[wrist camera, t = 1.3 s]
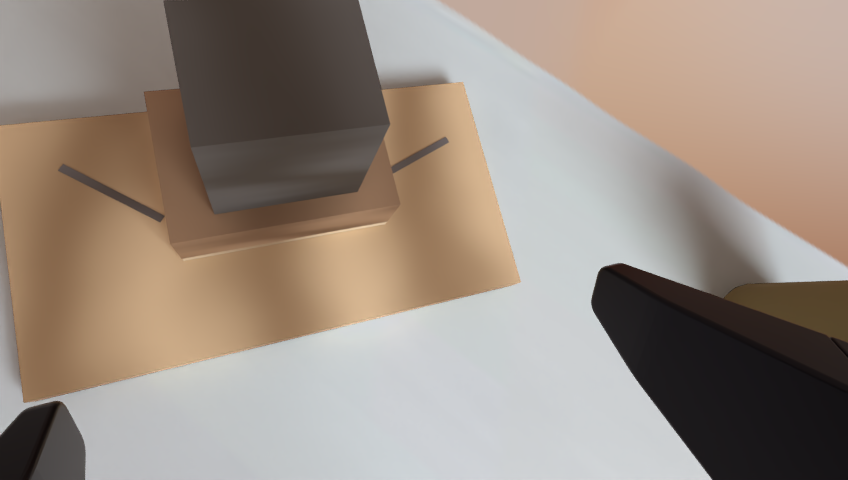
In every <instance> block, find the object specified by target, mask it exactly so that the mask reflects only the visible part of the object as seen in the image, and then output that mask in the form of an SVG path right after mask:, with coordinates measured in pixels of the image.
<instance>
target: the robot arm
mask: <svg viewBox="0 0 848 480" xmlns="http://www.w3.org/2000/svg"><path fill="white" fill-rule="evenodd" d="M591 304H592V309H593V311H594V313H595V315H596V317H597V318H598V320H599V321H600V323H601V325H602V326H603V328H604V329H605V331H606V333H607V334H608V336H609V338H610V339H611V341H612V342H613V344H614V346H615V347H616V349H617V350H618V352H619V354H620V355H621V357H622V358H623V360H624V362H625V363H626V365H627V366H628V368H629V370H630V371H631V373H632V374H633V376H634V377H635V378H636V380H637V381H638V383H639V384H640V385H641V387H642V388H643V389H644V391H645V392H646V393H647V395H648V396H649V397H650V399H651V400H652V401H653V402H654V404H655V405H656V406H657V408H658V409H659V410H660V412H661V413H662V414H663V416H664V417H665V418H666V420H667V421H668V422H669V424H670V425H671V426H672V427H673V429H674V430H675V431H676V433H677V434H678V435H679V437H680V438H681V439H682V441H683V442H684V443H685V445H686V446H687V447H688V448H689V450H690V451H691V452H692V454H693V455H694V456H695V458H696V459H697V460H698V462H699V463H700V464H701V466H702V467H703V468H704V469H705V471H706V472H707V473H708V475H709V476H710V477H711V479H712V480H848V342H846V341H843V340H840V339H837V338H834V337H828V336H827V335H826V334H823V333H820V332H817V331H814V330H811V329H808V328H806V327H803V326H800V325H797V324H794V323H791V322H788V321H786V320H783V319H780V318H777V317H774V316H771V315H768V314H766V313H763V312H760V311H757V310H754V309H751V308H748V307H746V306H743V305H740V304H737V303H734V302H731V301H729V300H726V299H723V298H720V297H717V296H714V295H711V294H709V293H706V292H703V291H700V290H697V289H694V288H691V287H689V286H686V285H683V284H680V283H677V282H674V281H672V280H669V279H666V278H663V277H660V276H657V275H654V274H652V273H649V272H646V271H643V270H640V269H637V268H634V267H632V266H629V265H626V264H623V263H617V264H613V265H608V266H605V267H603V268H601V269H600V271H599V272H598V275H597V279H596V283H595V287H594V291H593V295H592V300H591ZM85 456H86V455H85V445H84V441H83V438H82V435H81V434H80V432H79V430H78V428H77V426H76V424H75V422H74V420H73V418H72V417H71V415H70V413H69V411H68V409H67V407H66V406H65V405H64V404H63V403H62V402H60V401H53V402H49V403H45V404H41V405H37V406H33V407H29V408H27V409H25V410H24V411H22V412H21V413H20V414H19V415H18V416H17V417H16V419H15V420H14V421H13V422H12V423H11V424H10V425H9V426H8V427H7V429H6V430H5V431H4V432H3V433H2V434H1V435H0V480H85Z"/></svg>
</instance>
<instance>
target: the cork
mask: <svg viewBox="0 0 848 480" xmlns="http://www.w3.org/2000/svg"><path fill="white" fill-rule="evenodd" d="M724 299H726V300H729V301H731V302H734V303H737V304H740V305H743V306H746V307H748V308H751V309H754V310H757V311H760V312H763V313H766V314H768V315H771V316H774V317H777V318H780V319H783V320H786V321H788V322H791V323H794V324H797V325H800V326H803V327H806V328H808V329H811V330H814V331H817V332H820V333H823V334H826V335H827V336H828V337H834V338H837V339H840V340H843V341H846V342H848V280H845V281H816V282H787V283H758V284H746V285H742V286H739V287H736V288H734V289H733V290H732V291H731V292H730V293H728V294H727V295H726V296H725V297H724Z"/></svg>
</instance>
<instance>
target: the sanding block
mask: <svg viewBox="0 0 848 480" xmlns="http://www.w3.org/2000/svg"><path fill="white" fill-rule="evenodd" d="M163 1H164V6H165V11H166V17H167V22H168V28H169V33H170V38H171V44H172V49H173V55H174V60H175V65H176V71H177V76H178V82H179V87H180V89H171V90H159V91H147V92H144V96H145V101H146V107H147V113H148V119H149V125H150V130H151V136H152V142H153V148H154V154H155V160H156V165H157V171H158V177H159V183H160V189H161V194H162V200H163V206H164V212H165V218H166V223H167V229H168V235H169V241H170V245H171V246H172V247H173V248H174V250H175V251H176V252H177V253H178V255H179V256H180V257H181V259H182V260H183V261H186V260H192V259H197V258H203V257H208V256H214V255H219V254H225V253H230V252H236V251H241V250H247V249H252V248H258V247H263V246H269V245H274V244H280V243H285V242H291V241H296V240H301V239H307V238H312V237H318V236H323V235H329V234H334V233H340V232H345V231H351V230H356V229H362V228H367V227H373V226H378V225H384V224H386V223H387V221H388V220H389V219H390V217H391V216H392V215H393V214H394V212H395V211H396V210H397V209H398V207H399V206H400V205H401V204H400V200H399V196H398V192H397V188H396V184H395V180H394V176H393V172H392V168H391V165H390V161H389V157H388V153H387V149H386V145H385V141H384V137H385V134H386V132H387V130H388V128H389V126H390V121H389V117H388V113H387V109H386V105H385V101H384V97H383V94H382V90H381V86H380V82H379V78H378V74H377V70H376V67H375V63H374V59H373V55H372V51H371V47H370V43H369V40H368V36H367V32H366V28H365V24H364V20H363V16H362V13H361V9H360V5H359V1H358V0H163Z"/></svg>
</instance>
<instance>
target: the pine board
mask: <svg viewBox="0 0 848 480" xmlns="http://www.w3.org/2000/svg"><path fill="white" fill-rule="evenodd" d="M382 94H383V97H384V101H385V105H386V109H387V113H388V117H389V121H390V126H389V128H388V130H387V132H386V134H385V137H384V141H385V145H386V149H387V153H388V157H389V161H390V165H391V168H392V172H393V176H394V180H395V184H396V188H397V192H398V196H399V200H400V204H401V205H400V206H399V207H398V209H397V210H396V211H395V212H394V214H393V215H392V216H391V217H390V219H389V220H388V221H387V223H386V224H384V225H378V226H373V227H367V228H362V229H356V230H351V231H345V232H340V233H334V234H329V235H323V236H318V237H312V238H307V239H301V240H296V241H291V242H285V243H280V244H274V245H269V246H263V247H258V248H252V249H247V250H241V251H236V252H230V253H225V254H219V255H214V256H208V257H203V258H197V259H192V260H186V261H183V260H182V259H181V257H180V256H179V255H178V253H177V252H176V251H175V250H174V248H173V247H172V246H171V245H170V241H169V235H168V229H167V223H166V218H165V212H164V206H163V200H162V194H161V189H160V183H159V177H158V171H157V165H156V160H155V154H154V148H153V142H152V136H151V130H150V125H149V119H148V113H147V112H139V113H128V114H117V115H107V116H96V117H85V118H75V119H64V120H53V121H43V122H32V123H21V124H10V125H0V202H1V211H2V220H3V228H4V237H5V246H6V254H7V263H8V272H9V280H10V289H11V298H12V306H13V315H14V324H15V332H16V341H17V350H18V358H19V367H20V376H21V384H22V393H23V402H24V403H26V402H34V401H39V400H43V399H47V398H51V397H56V396H60V395H64V394H68V393H72V392H76V391H80V390H84V389H88V388H92V387H97V386H101V385H105V384H109V383H113V382H117V381H121V380H125V379H129V378H134V377H138V376H142V375H146V374H150V373H154V372H158V371H162V370H166V369H171V368H175V367H179V366H183V365H187V364H191V363H195V362H199V361H203V360H207V359H212V358H216V357H220V356H224V355H228V354H232V353H236V352H240V351H244V350H249V349H253V348H257V347H261V346H265V345H269V344H273V343H277V342H281V341H286V340H290V339H294V338H298V337H302V336H306V335H310V334H314V333H318V332H323V331H327V330H331V329H335V328H339V327H343V326H347V325H351V324H355V323H359V322H364V321H368V320H372V319H376V318H380V317H384V316H388V315H392V314H396V313H401V312H405V311H409V310H413V309H417V308H421V307H425V306H429V305H433V304H438V303H442V302H446V301H450V300H454V299H458V298H462V297H466V296H470V295H474V294H479V293H483V292H487V291H491V290H495V289H499V288H503V287H507V286H511V285H514V284H517V283H520V282H521V281H520V277H519V274H518V271H517V267H516V264H515V260H514V257H513V253H512V250H511V246H510V243H509V239H508V236H507V233H506V229H505V226H504V222H503V219H502V215H501V212H500V208H499V205H498V201H497V198H496V195H495V191H494V188H493V184H492V181H491V177H490V174H489V170H488V167H487V163H486V160H485V157H484V153H483V150H482V146H481V143H480V139H479V136H478V132H477V129H476V126H475V122H474V119H473V115H472V112H471V108H470V105H469V101H468V98H467V94H466V91H465V88H464V84H463V82H459V83H448V84H438V85H427V86H416V87H406V88H395V89H384V90H382Z"/></svg>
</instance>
